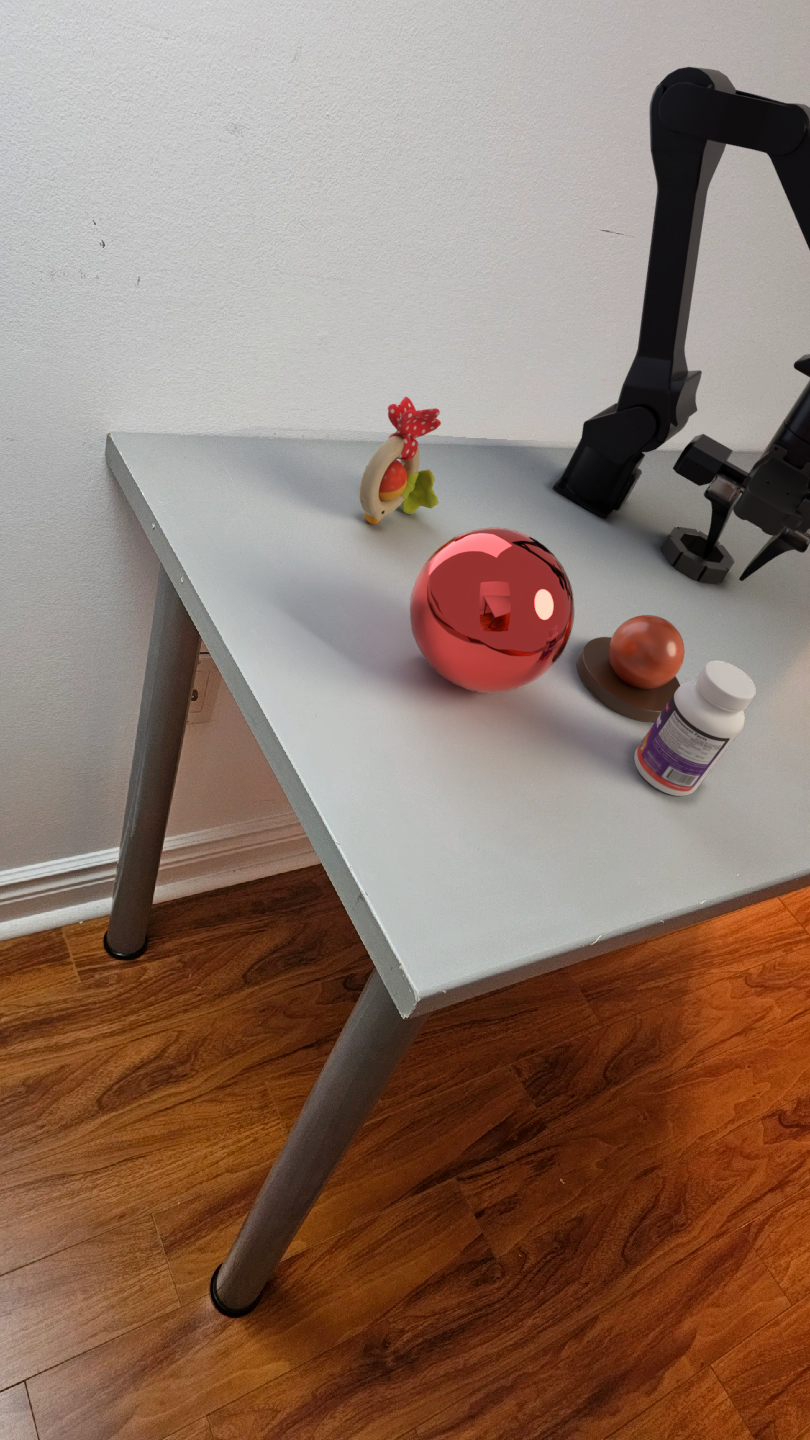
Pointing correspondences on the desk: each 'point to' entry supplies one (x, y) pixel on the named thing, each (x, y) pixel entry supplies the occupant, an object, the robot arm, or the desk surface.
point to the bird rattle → (399, 466)
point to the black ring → (692, 564)
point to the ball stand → (634, 667)
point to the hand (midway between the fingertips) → (722, 568)
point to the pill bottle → (695, 729)
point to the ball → (492, 610)
